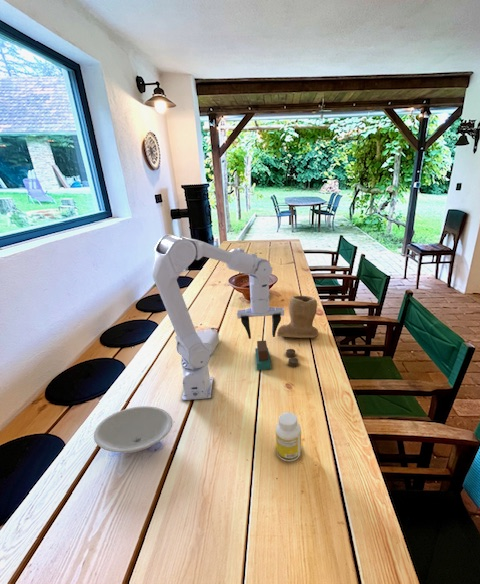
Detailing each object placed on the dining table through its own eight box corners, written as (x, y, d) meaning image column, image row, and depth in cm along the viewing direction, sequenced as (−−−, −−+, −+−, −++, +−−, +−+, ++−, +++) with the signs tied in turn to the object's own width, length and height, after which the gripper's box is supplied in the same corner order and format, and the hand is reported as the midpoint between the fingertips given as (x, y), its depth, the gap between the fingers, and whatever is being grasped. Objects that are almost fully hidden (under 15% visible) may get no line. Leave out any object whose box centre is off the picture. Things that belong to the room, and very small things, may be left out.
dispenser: (223, 335, 125) (212, 355, 112) (201, 334, 127) (187, 353, 113) (222, 324, 123) (210, 343, 110) (199, 323, 125) (185, 342, 111)
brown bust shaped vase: (318, 327, 129) (319, 292, 122) (317, 342, 118) (319, 304, 112) (280, 326, 131) (279, 291, 125) (276, 340, 120) (275, 303, 114)
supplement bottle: (286, 439, 75) (285, 406, 71) (305, 450, 72) (306, 416, 68) (271, 454, 72) (270, 420, 68) (291, 466, 69) (291, 431, 64)
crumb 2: (298, 366, 104) (298, 362, 103) (289, 367, 103) (288, 363, 103) (297, 361, 106) (297, 357, 106) (287, 362, 106) (287, 357, 106)
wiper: (270, 369, 103) (270, 352, 100) (257, 370, 103) (256, 353, 100) (268, 353, 112) (267, 338, 109) (255, 354, 112) (254, 339, 109)
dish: (85, 466, 71) (78, 449, 69) (118, 420, 84) (113, 405, 82) (162, 470, 69) (158, 453, 67) (184, 422, 82) (181, 407, 80)
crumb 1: (296, 357, 109) (296, 352, 108) (286, 358, 109) (286, 353, 108) (294, 352, 112) (294, 348, 111) (285, 353, 112) (285, 349, 111)
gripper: (281, 291, 102) (282, 329, 107) (236, 293, 101) (239, 332, 106) (284, 298, 95) (285, 339, 101) (235, 302, 94) (239, 342, 100)
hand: (261, 336), depth 103 cm, fingers open, 7 cm apart
